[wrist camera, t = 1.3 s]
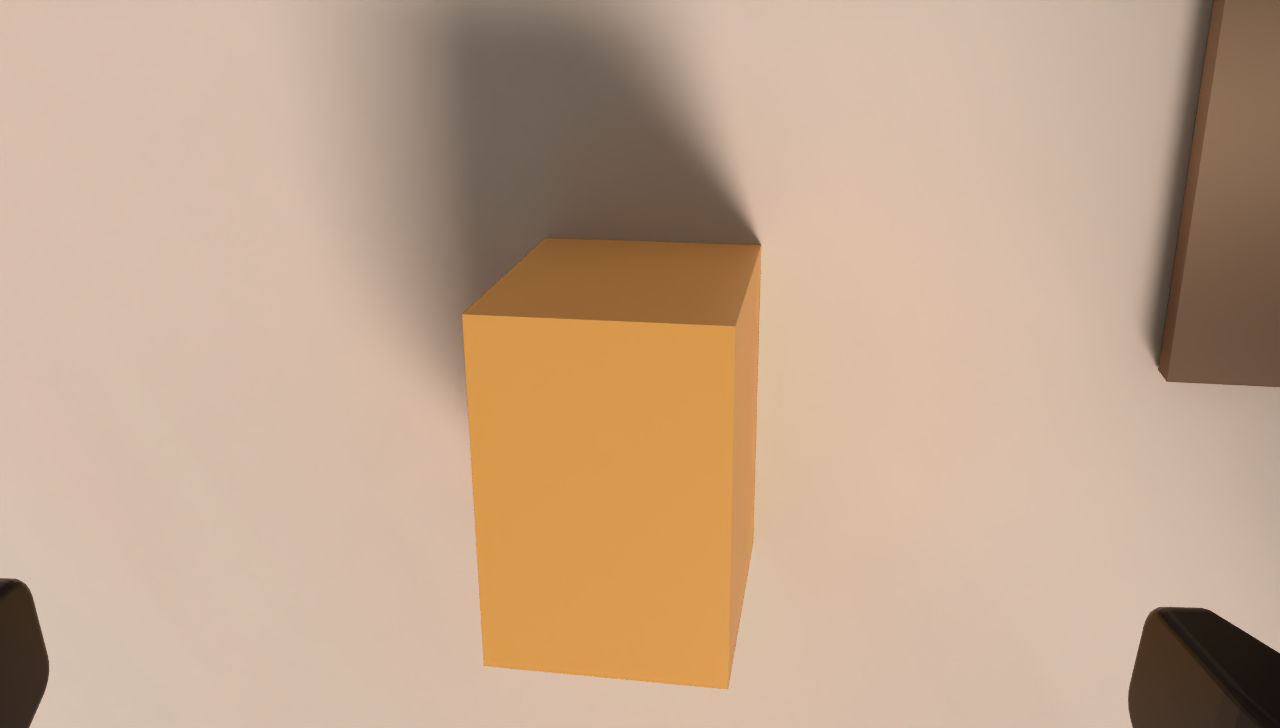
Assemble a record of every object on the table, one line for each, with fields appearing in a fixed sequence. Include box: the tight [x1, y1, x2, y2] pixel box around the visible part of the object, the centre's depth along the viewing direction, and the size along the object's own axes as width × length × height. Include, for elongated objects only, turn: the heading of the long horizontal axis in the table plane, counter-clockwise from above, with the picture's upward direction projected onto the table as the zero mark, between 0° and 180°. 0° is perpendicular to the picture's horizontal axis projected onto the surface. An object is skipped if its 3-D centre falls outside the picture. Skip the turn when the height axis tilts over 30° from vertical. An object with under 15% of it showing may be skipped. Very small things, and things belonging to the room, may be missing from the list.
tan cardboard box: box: [462, 238, 761, 689], centre depth 20 cm, size 6×4×5 cm, turn 1°
